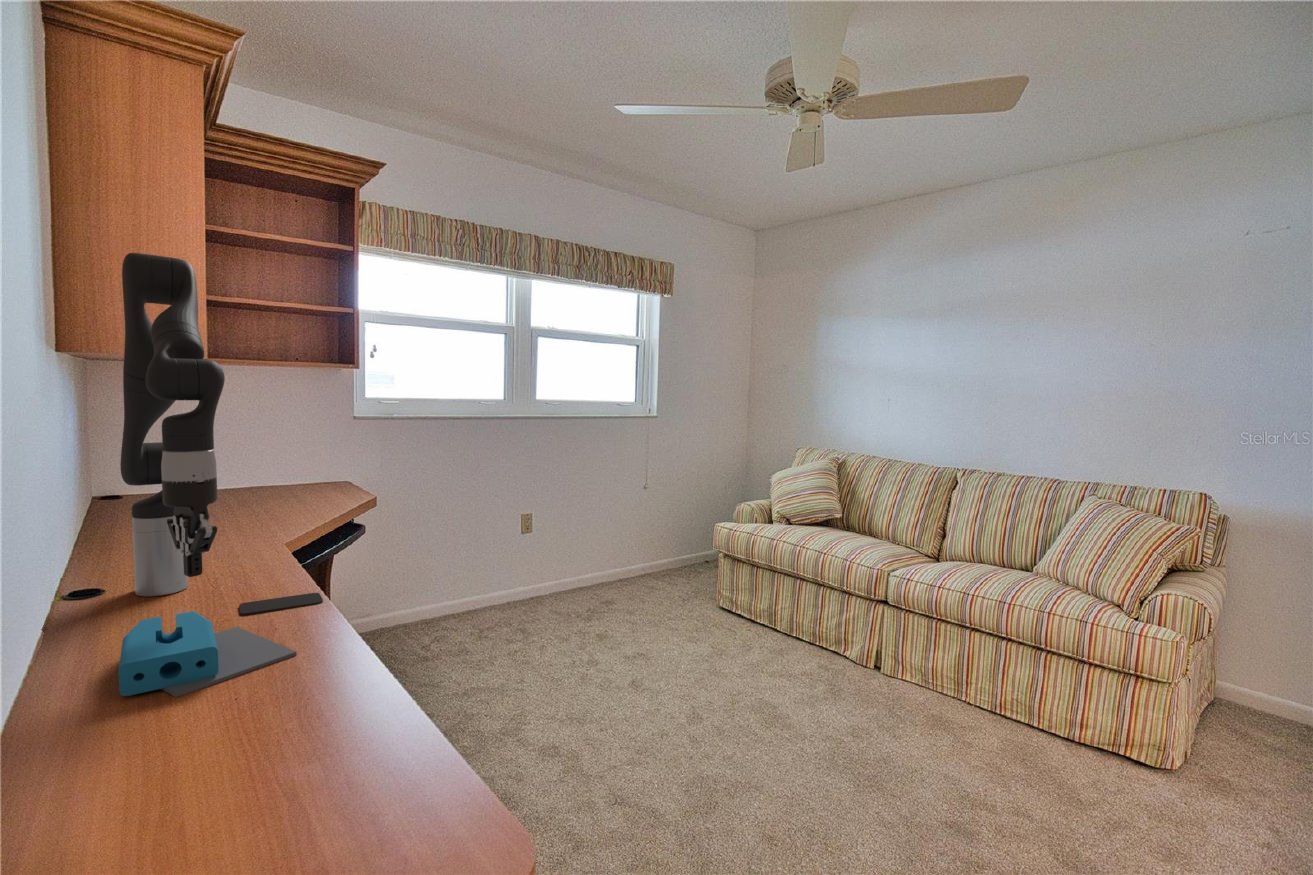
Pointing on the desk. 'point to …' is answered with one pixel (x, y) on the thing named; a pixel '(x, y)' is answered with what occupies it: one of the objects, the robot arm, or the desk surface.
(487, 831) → the desk surface
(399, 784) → the desk surface
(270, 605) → the phone
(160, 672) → the block
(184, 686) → the mat
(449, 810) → the desk surface
